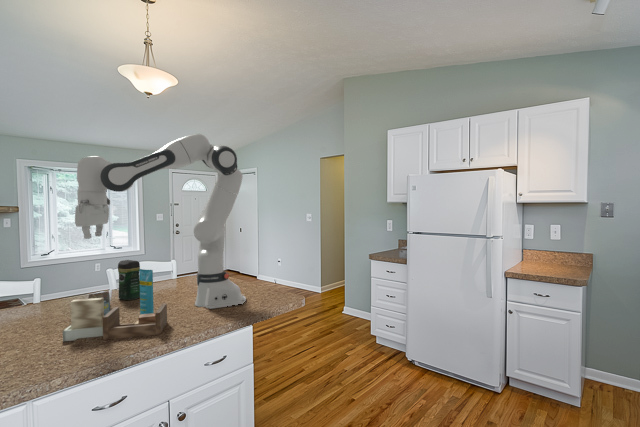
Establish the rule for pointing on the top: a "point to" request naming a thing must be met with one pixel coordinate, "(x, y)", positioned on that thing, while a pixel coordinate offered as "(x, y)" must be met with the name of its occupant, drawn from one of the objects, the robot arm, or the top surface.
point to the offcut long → (143, 323)
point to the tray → (81, 333)
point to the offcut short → (147, 318)
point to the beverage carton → (106, 300)
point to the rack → (132, 325)
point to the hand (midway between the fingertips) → (93, 237)
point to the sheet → (87, 313)
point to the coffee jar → (129, 280)
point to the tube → (146, 291)
